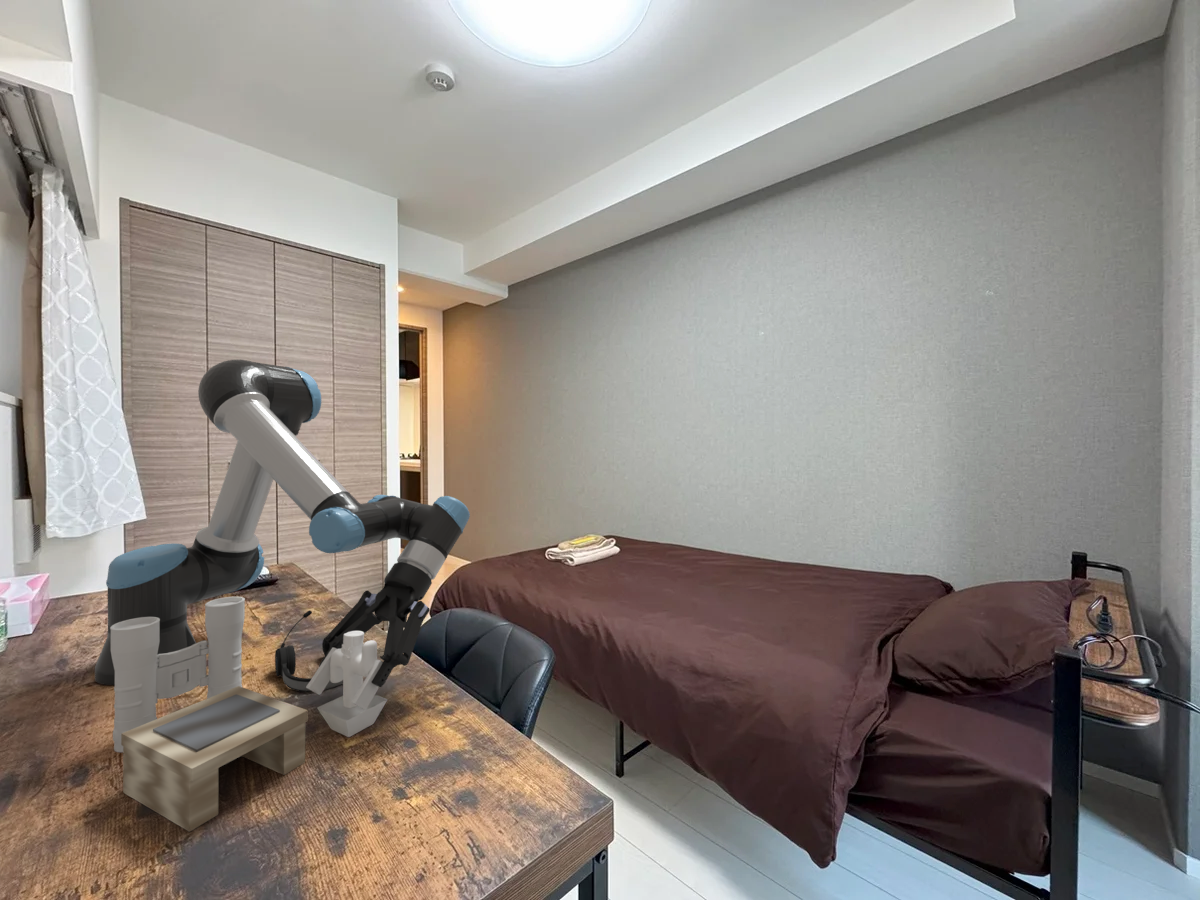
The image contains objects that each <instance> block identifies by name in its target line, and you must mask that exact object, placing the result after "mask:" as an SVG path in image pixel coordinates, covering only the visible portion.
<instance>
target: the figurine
mask: <svg viewBox="0 0 1200 900" xmlns="http://www.w3.org/2000/svg"><path fill="white" fill-rule="evenodd" d="M364 639H365V634H364V632H362V631H350V632H347V633H345V634H344V636H343V644H342V648H341V649H336V650H335V651H334V652H333V653H332V655H331V660H330V681H331V682H332V683H338V682H340V681H342V680H343V684H342V689H343V690H342V695H341V696H339V697H337V698H335V699H332V700H331V701H329V702H326V703H324V704H322V705H320V706H317V707H316V709H317V710H318V712H319V714H321V716H322V717H323V719H324V720H325V722H326V724H327V725H328V726H329V728H330V730H332V731H334V732H337V733H339V734H340V735H343V736H345V737H347V738H350V737H352V736H354V735H355V734H358V733H359V732H361V731H363V730H365V729H367V728H368V727H370V726H373V724H375V722H376V720H377V718H378V717H379V715H380V714H381V712H382V710H383V708H384V706H385V705H386V703H387V701H388V698H385V697H382V696H380V695H377V694H375V695H374V697H373V699H372V700H371V702H370V704H369V706H368V707H367V709H366V710H363V709H361V708H360V707H358V706H356V705H355V704H353V703H351V702H352V700H353V699H354V697H355V695H356V694H357V692H358V690H359V689H360V687H361V685H362V684H363V682H364V680H363V679H364V678H366V677H367V676H368V674H369V672H370V671H371V669H372V667H373V666H374V664H375V662H376V661H377V659H378V643H377V641H376V640H371V639H370V640H367V641H365V642H364Z"/></svg>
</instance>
